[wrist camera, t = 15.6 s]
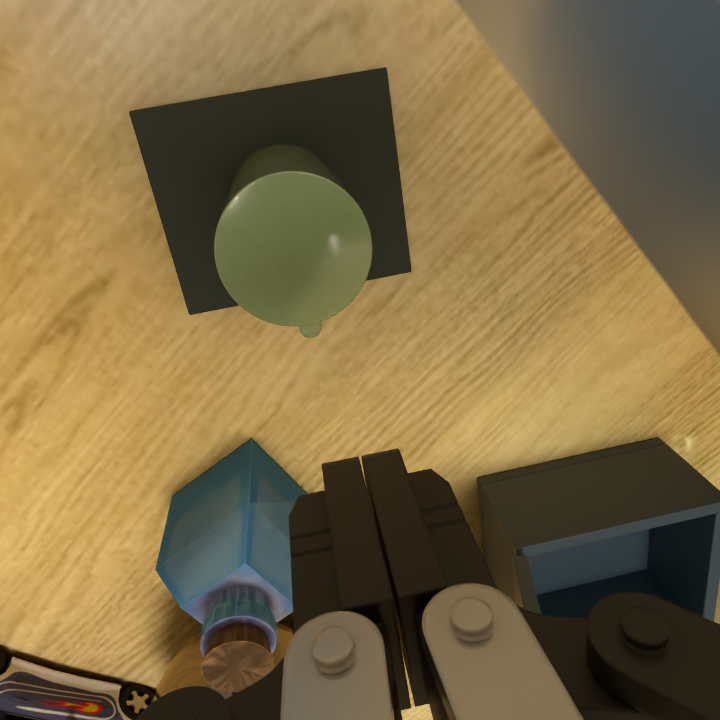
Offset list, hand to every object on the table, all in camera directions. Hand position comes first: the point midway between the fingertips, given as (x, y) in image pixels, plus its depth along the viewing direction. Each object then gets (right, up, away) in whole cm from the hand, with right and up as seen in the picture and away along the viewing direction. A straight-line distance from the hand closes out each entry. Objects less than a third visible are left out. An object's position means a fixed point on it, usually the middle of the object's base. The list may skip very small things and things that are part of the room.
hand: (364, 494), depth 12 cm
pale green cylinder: (-4, +11, +18) cm, 21 cm away
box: (+15, -9, +30) cm, 35 cm away
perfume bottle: (-7, -6, +26) cm, 27 cm away
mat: (-4, +11, +18) cm, 22 cm away
